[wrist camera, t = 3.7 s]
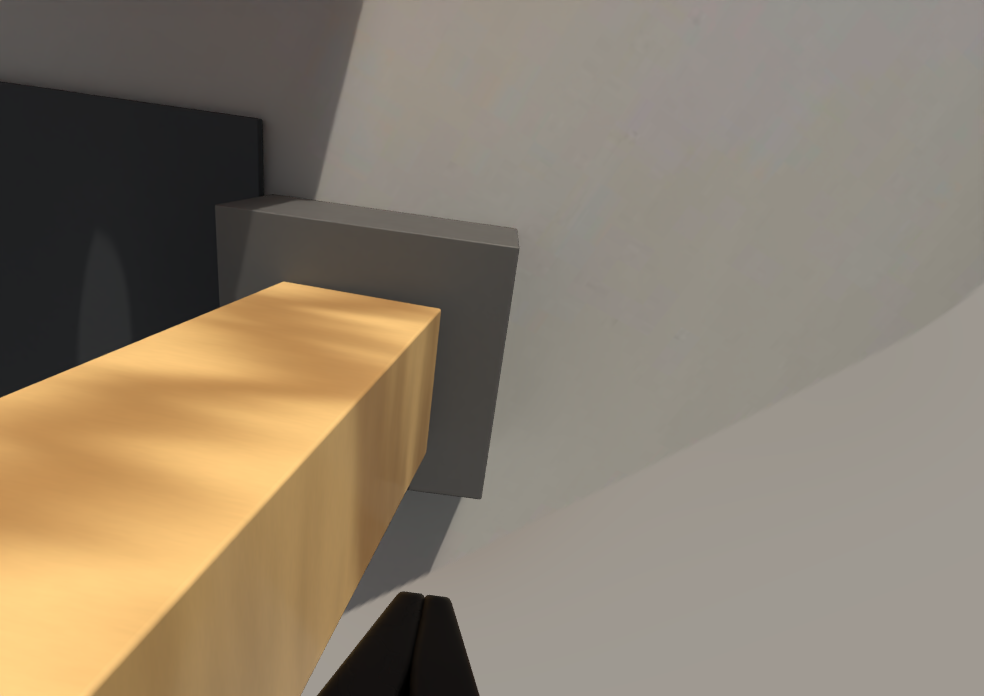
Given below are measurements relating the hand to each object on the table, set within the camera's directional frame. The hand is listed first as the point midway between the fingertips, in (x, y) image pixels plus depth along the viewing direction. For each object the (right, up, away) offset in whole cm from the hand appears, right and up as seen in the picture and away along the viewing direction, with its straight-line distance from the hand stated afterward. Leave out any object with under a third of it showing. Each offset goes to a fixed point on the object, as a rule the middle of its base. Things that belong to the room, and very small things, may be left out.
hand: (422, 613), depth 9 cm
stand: (-3, +5, +12) cm, 14 cm away
